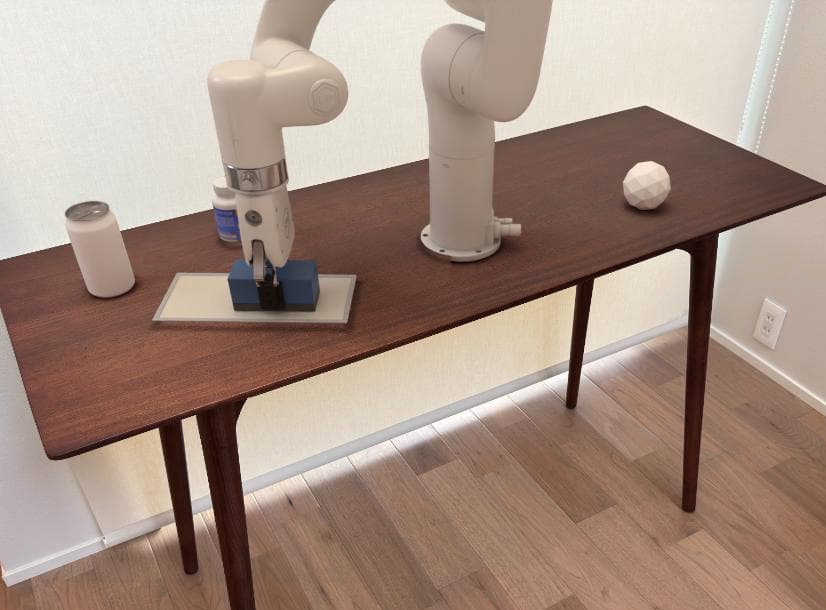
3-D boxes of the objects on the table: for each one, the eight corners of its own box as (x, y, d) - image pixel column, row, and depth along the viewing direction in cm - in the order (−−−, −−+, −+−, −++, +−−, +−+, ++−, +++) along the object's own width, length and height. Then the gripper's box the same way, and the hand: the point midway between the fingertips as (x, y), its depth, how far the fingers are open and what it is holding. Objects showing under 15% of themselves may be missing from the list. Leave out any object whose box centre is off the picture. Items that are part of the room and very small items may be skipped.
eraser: (320, 291, 110) (316, 260, 106) (315, 311, 106) (311, 279, 103) (241, 290, 110) (235, 259, 106) (233, 310, 106) (227, 278, 103)
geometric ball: (644, 227, 133) (646, 205, 126) (613, 196, 136) (613, 172, 128) (678, 198, 133) (682, 174, 126) (646, 168, 136) (648, 143, 128)
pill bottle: (247, 250, 121) (236, 191, 114) (214, 246, 121) (201, 187, 115) (261, 233, 125) (250, 175, 118) (229, 229, 125) (217, 172, 119)
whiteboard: (357, 282, 114) (356, 274, 113) (347, 330, 105) (347, 322, 104) (178, 280, 114) (176, 272, 113) (154, 328, 105) (151, 320, 104)
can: (144, 286, 113) (121, 209, 105) (103, 304, 109) (76, 226, 101) (120, 270, 116) (97, 194, 108) (79, 287, 112) (52, 210, 104)
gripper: (274, 203, 89) (294, 333, 101) (297, 143, 102) (313, 264, 114) (208, 202, 89) (236, 333, 101) (240, 142, 102) (261, 264, 114)
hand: (277, 295), depth 107 cm, fingers closed on eraser, 5 cm apart
